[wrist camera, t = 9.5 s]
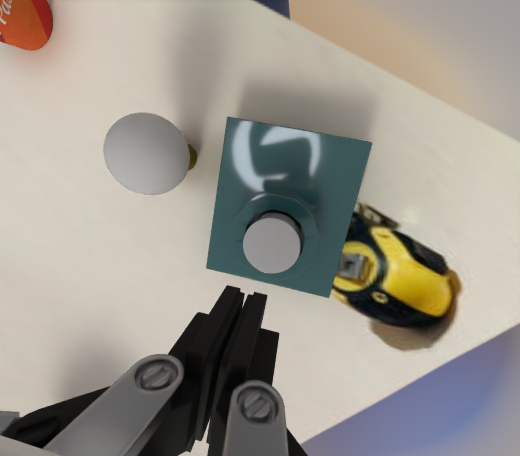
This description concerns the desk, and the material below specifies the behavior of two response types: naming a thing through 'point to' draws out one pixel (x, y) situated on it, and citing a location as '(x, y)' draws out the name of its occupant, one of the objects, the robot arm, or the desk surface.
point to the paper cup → (25, 23)
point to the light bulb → (147, 153)
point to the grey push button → (272, 243)
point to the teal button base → (286, 198)
